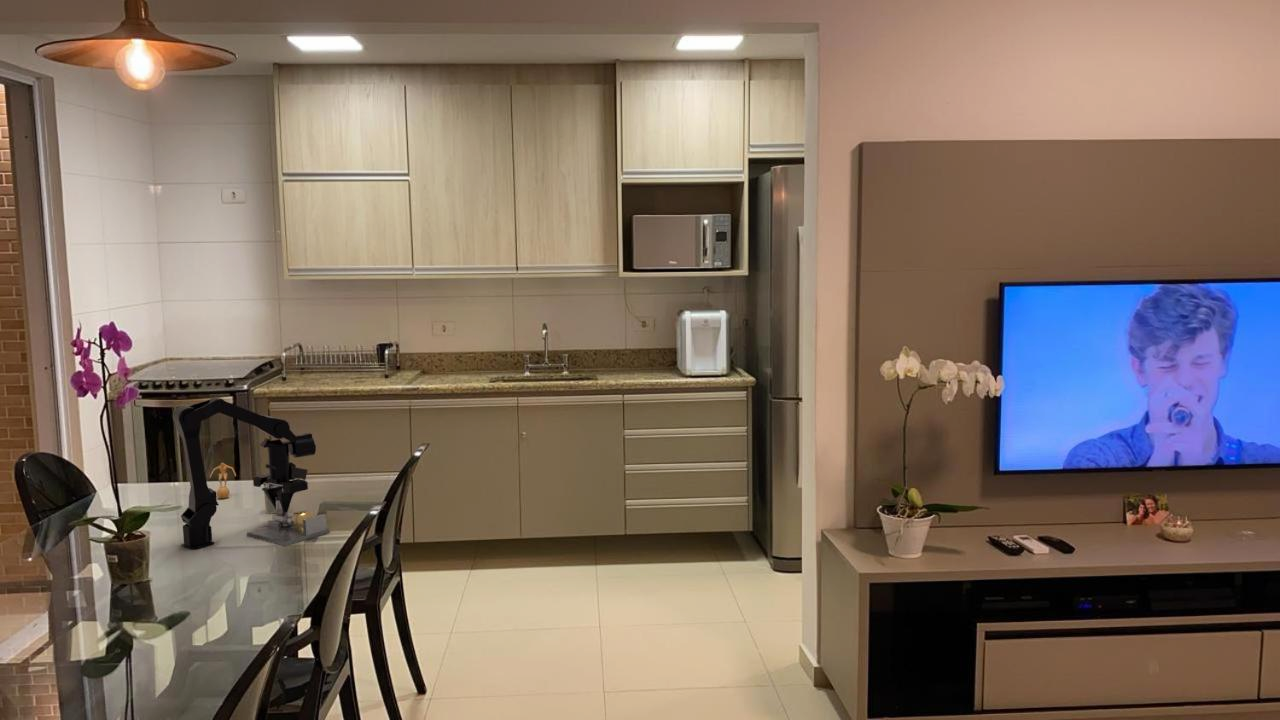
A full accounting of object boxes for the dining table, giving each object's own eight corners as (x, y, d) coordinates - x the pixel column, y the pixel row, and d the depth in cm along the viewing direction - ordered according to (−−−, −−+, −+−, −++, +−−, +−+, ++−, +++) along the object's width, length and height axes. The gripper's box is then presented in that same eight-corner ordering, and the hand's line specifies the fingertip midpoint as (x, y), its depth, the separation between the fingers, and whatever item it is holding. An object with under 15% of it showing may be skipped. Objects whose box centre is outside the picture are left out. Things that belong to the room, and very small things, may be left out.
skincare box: (288, 509, 302) (286, 472, 301) (285, 512, 298) (283, 475, 296) (268, 510, 301) (265, 473, 300) (264, 514, 296) (262, 476, 295)
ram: (287, 527, 275) (285, 499, 274) (272, 524, 279) (271, 496, 278) (299, 524, 278) (297, 496, 278) (284, 521, 282) (282, 493, 281)
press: (285, 545, 262) (284, 526, 262) (247, 536, 272) (245, 517, 272) (329, 532, 275) (328, 513, 274) (291, 523, 285) (290, 505, 284)
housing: (301, 532, 271) (300, 514, 270) (290, 530, 273) (289, 512, 273) (316, 528, 275) (315, 510, 274) (305, 526, 278) (304, 508, 277)
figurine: (209, 500, 315) (206, 465, 313) (212, 496, 320) (210, 462, 319) (235, 498, 317) (233, 464, 315) (238, 494, 322) (236, 460, 321)
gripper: (321, 458, 279) (324, 509, 281) (283, 452, 289) (285, 501, 291) (289, 465, 270) (292, 518, 271) (250, 458, 280) (253, 509, 282)
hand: (282, 511), depth 279 cm, fingers closed on ram, 3 cm apart
